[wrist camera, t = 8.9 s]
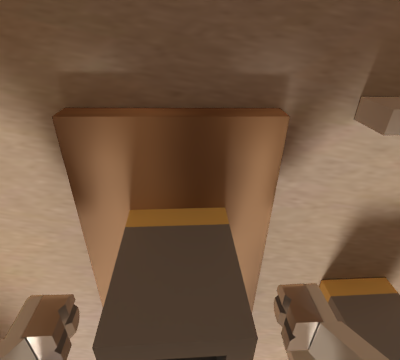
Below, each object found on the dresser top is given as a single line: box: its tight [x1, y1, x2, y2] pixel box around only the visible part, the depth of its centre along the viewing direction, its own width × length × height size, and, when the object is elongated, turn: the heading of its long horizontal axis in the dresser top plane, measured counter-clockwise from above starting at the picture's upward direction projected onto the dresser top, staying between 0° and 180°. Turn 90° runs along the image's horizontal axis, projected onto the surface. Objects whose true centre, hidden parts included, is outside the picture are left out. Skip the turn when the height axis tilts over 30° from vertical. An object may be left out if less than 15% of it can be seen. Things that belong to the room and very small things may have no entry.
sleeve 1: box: [92, 208, 258, 360], centre depth 11 cm, size 4×4×6 cm
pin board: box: [52, 108, 290, 313], centre depth 14 cm, size 9×20×6 cm, turn 179°
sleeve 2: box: [319, 277, 400, 360], centre depth 16 cm, size 4×4×6 cm
